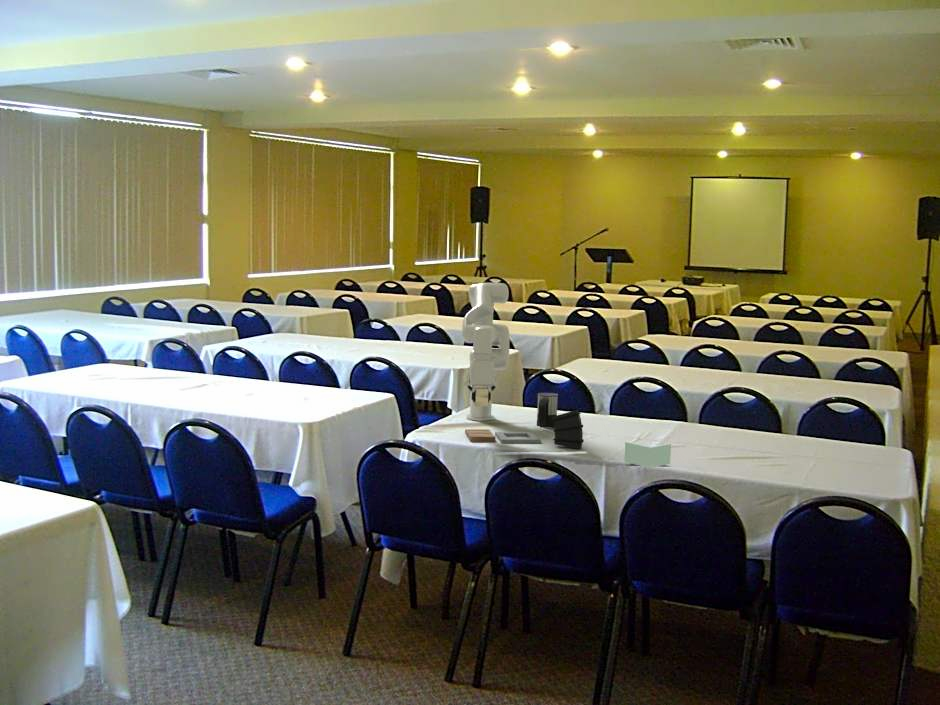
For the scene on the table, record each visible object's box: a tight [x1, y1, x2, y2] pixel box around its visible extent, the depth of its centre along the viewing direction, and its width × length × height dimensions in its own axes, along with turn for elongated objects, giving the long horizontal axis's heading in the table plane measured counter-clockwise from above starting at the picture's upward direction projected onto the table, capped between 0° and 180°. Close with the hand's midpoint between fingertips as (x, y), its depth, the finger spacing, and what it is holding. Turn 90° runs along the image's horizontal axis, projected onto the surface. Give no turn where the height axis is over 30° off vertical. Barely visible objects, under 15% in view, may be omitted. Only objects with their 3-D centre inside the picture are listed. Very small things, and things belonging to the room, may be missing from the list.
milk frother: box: [536, 392, 559, 429], centre depth 439 cm, size 14×16×15 cm
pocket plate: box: [494, 431, 542, 444], centre depth 414 cm, size 16×16×2 cm
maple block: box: [474, 387, 488, 406], centre depth 413 cm, size 5×5×7 cm
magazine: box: [551, 409, 585, 450], centre depth 399 cm, size 4×13×15 cm, turn 65°
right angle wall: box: [623, 441, 672, 469], centre depth 378 cm, size 12×12×8 cm
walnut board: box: [464, 428, 496, 443], centre depth 415 cm, size 16×10×2 cm, turn 8°
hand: (480, 401), depth 413 cm, fingers closed on maple block, 5 cm apart
